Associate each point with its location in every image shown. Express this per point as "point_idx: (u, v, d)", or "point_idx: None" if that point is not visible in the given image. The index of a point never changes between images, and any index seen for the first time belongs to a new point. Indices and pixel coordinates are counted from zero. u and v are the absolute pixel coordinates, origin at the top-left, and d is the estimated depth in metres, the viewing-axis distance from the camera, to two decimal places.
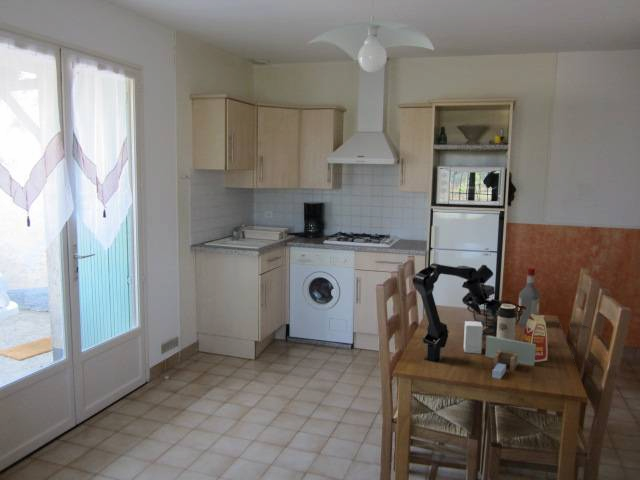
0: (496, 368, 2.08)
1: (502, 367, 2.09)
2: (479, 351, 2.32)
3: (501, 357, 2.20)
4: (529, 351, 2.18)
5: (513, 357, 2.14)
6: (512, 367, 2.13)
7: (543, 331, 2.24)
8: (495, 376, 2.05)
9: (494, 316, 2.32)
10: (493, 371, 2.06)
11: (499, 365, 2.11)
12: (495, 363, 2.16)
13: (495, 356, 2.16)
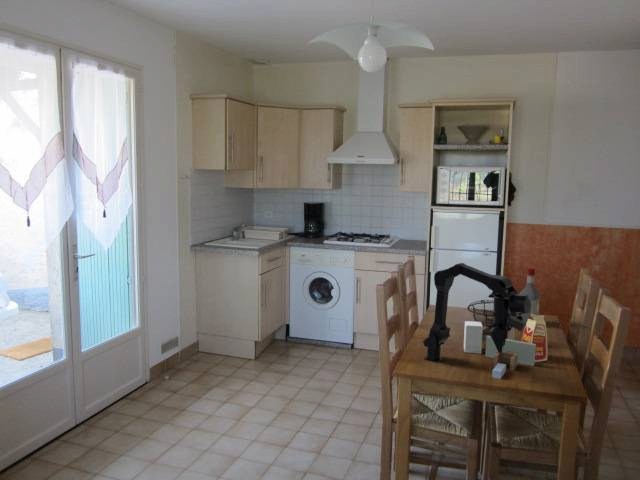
0: (496, 368, 2.08)
1: (502, 366, 2.09)
2: (479, 351, 2.32)
3: (501, 357, 2.20)
4: (529, 351, 2.18)
5: (513, 357, 2.14)
6: (512, 367, 2.13)
7: (543, 331, 2.24)
8: (495, 376, 2.05)
9: (498, 348, 1.97)
10: (493, 371, 2.06)
11: (499, 365, 2.11)
12: (495, 363, 2.16)
13: (495, 356, 2.16)
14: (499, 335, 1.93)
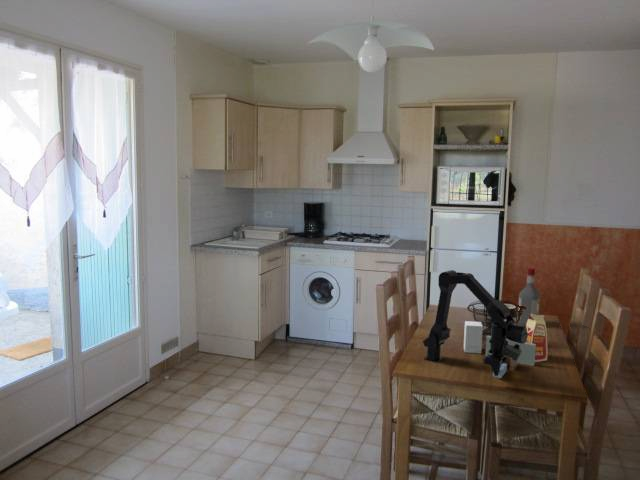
0: None
1: (503, 366, 2.10)
2: (479, 351, 2.32)
3: None
4: (529, 351, 2.18)
5: None
6: (512, 367, 2.13)
7: (543, 331, 2.24)
8: None
9: (494, 371, 2.04)
10: None
11: None
12: None
13: None
14: (492, 363, 1.96)
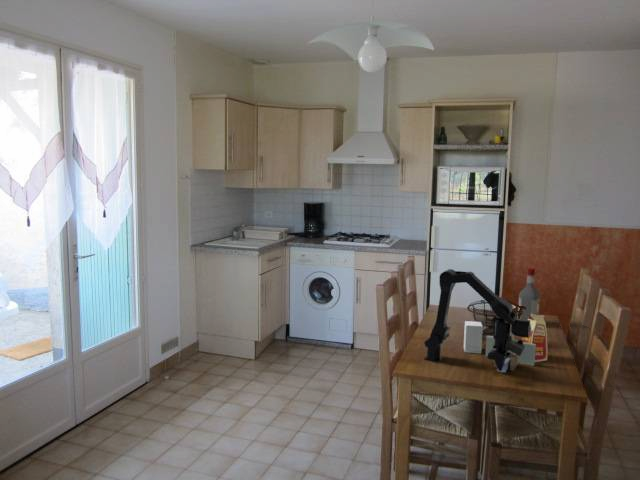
0: None
1: (507, 360, 2.15)
2: (479, 351, 2.32)
3: None
4: (529, 351, 2.18)
5: (513, 357, 2.14)
6: (512, 367, 2.13)
7: (543, 331, 2.24)
8: None
9: (498, 366, 2.10)
10: None
11: None
12: (495, 363, 2.16)
13: None
14: (496, 358, 2.01)
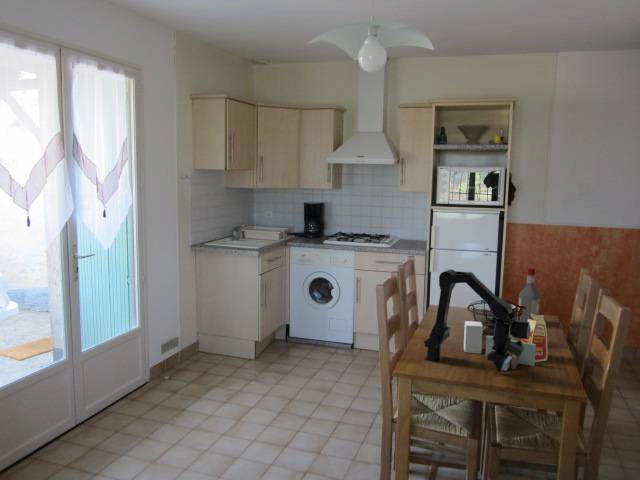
0: None
1: (508, 359, 2.18)
2: (479, 351, 2.32)
3: None
4: (529, 351, 2.18)
5: (514, 355, 2.16)
6: (513, 365, 2.15)
7: (543, 331, 2.24)
8: (502, 368, 2.14)
9: (497, 367, 2.08)
10: None
11: None
12: None
13: None
14: (495, 360, 2.00)
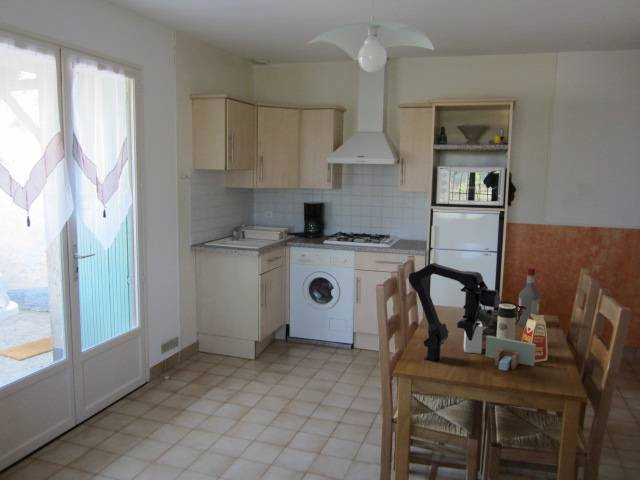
0: (503, 360, 2.16)
1: (509, 359, 2.18)
2: (479, 351, 2.32)
3: (502, 355, 2.22)
4: (529, 351, 2.18)
5: (514, 355, 2.16)
6: (513, 365, 2.15)
7: (543, 331, 2.24)
8: (502, 368, 2.14)
9: (468, 336, 2.12)
10: (500, 363, 2.14)
11: (505, 357, 2.19)
12: (496, 361, 2.18)
13: (496, 354, 2.18)
14: (465, 327, 2.04)
